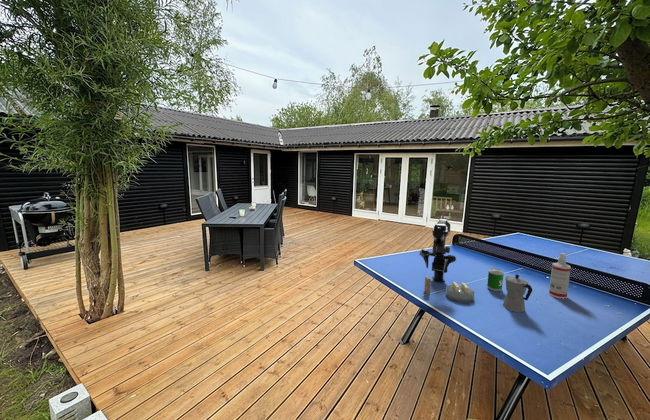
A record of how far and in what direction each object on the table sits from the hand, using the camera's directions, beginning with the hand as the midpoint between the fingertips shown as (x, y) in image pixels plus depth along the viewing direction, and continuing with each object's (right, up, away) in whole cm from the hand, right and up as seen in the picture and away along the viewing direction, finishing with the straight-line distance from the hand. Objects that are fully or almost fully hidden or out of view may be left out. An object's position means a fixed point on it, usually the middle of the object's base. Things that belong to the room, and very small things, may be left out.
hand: (435, 270), depth 145 cm
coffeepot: (+35, -17, -14) cm, 41 cm away
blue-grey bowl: (+13, -15, 0) cm, 20 cm away
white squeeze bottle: (+71, -15, +2) cm, 72 cm away
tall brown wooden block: (-3, -14, +5) cm, 15 cm away
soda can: (+40, -14, +10) cm, 43 cm away
